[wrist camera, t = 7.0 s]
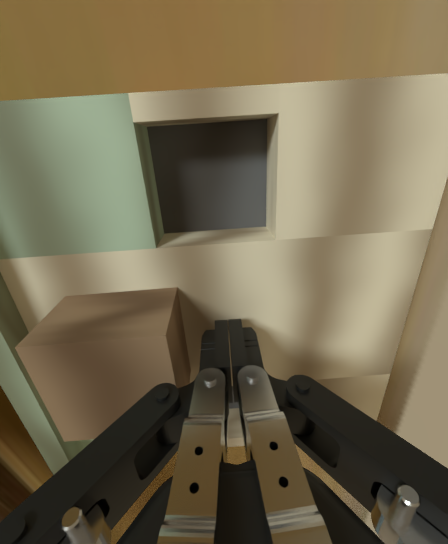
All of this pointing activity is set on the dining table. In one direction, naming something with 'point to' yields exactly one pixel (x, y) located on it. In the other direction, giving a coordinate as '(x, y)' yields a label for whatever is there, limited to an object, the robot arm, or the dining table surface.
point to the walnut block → (105, 356)
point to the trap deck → (227, 221)
